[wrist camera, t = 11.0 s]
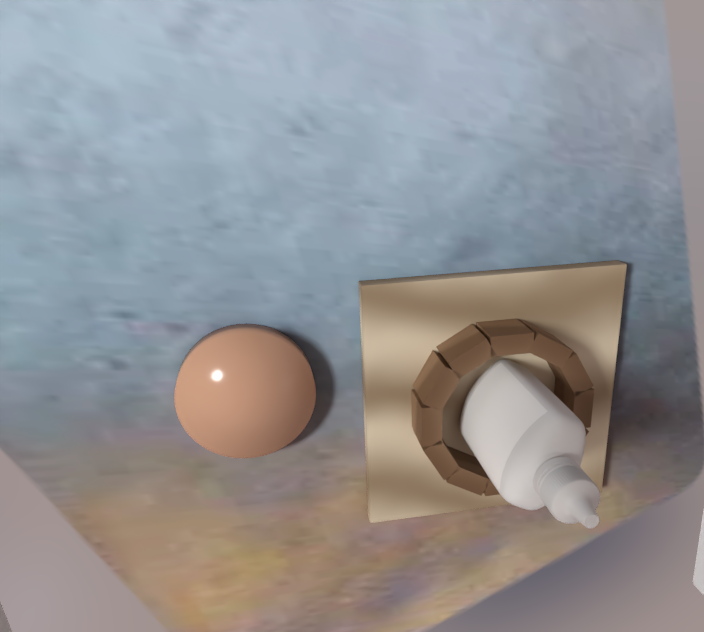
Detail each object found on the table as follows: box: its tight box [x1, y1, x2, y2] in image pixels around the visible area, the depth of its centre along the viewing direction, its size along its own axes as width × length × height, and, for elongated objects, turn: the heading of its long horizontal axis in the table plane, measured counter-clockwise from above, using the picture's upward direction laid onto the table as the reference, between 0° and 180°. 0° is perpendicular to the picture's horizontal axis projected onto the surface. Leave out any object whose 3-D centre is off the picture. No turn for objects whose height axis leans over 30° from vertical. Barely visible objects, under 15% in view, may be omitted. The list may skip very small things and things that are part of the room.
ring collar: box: [359, 260, 627, 523], centre depth 37 cm, size 16×16×4 cm
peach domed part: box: [174, 324, 316, 458], centre depth 35 cm, size 8×8×2 cm
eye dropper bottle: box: [460, 359, 600, 528], centre depth 32 cm, size 4×6×12 cm
